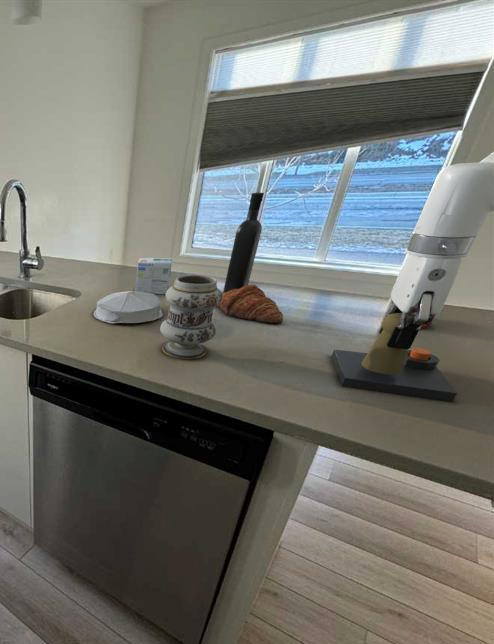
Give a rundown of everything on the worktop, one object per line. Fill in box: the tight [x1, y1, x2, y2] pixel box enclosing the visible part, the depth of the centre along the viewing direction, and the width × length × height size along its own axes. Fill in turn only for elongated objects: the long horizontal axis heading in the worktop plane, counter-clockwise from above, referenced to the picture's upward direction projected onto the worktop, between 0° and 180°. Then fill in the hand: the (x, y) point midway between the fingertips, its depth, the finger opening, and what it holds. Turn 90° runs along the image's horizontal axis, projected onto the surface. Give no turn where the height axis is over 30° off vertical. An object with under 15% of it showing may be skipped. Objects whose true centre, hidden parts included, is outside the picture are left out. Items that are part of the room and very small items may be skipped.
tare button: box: [409, 347, 432, 360], centre depth 82 cm, size 3×3×2 cm
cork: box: [361, 313, 414, 374], centre depth 78 cm, size 6×6×11 cm
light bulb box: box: [134, 257, 173, 295], centre depth 137 cm, size 11×7×11 cm, turn 66°
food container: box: [93, 290, 163, 324], centre depth 122 cm, size 20×20×7 cm
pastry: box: [215, 284, 284, 325], centre depth 115 cm, size 17×15×8 cm
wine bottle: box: [222, 192, 265, 293], centre depth 123 cm, size 6×6×30 cm
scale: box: [331, 349, 458, 403], centre depth 82 cm, size 16×14×4 cm
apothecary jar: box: [159, 274, 222, 360], centre depth 96 cm, size 12×12×18 cm
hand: (393, 340), depth 78 cm, fingers closed on cork, 5 cm apart
